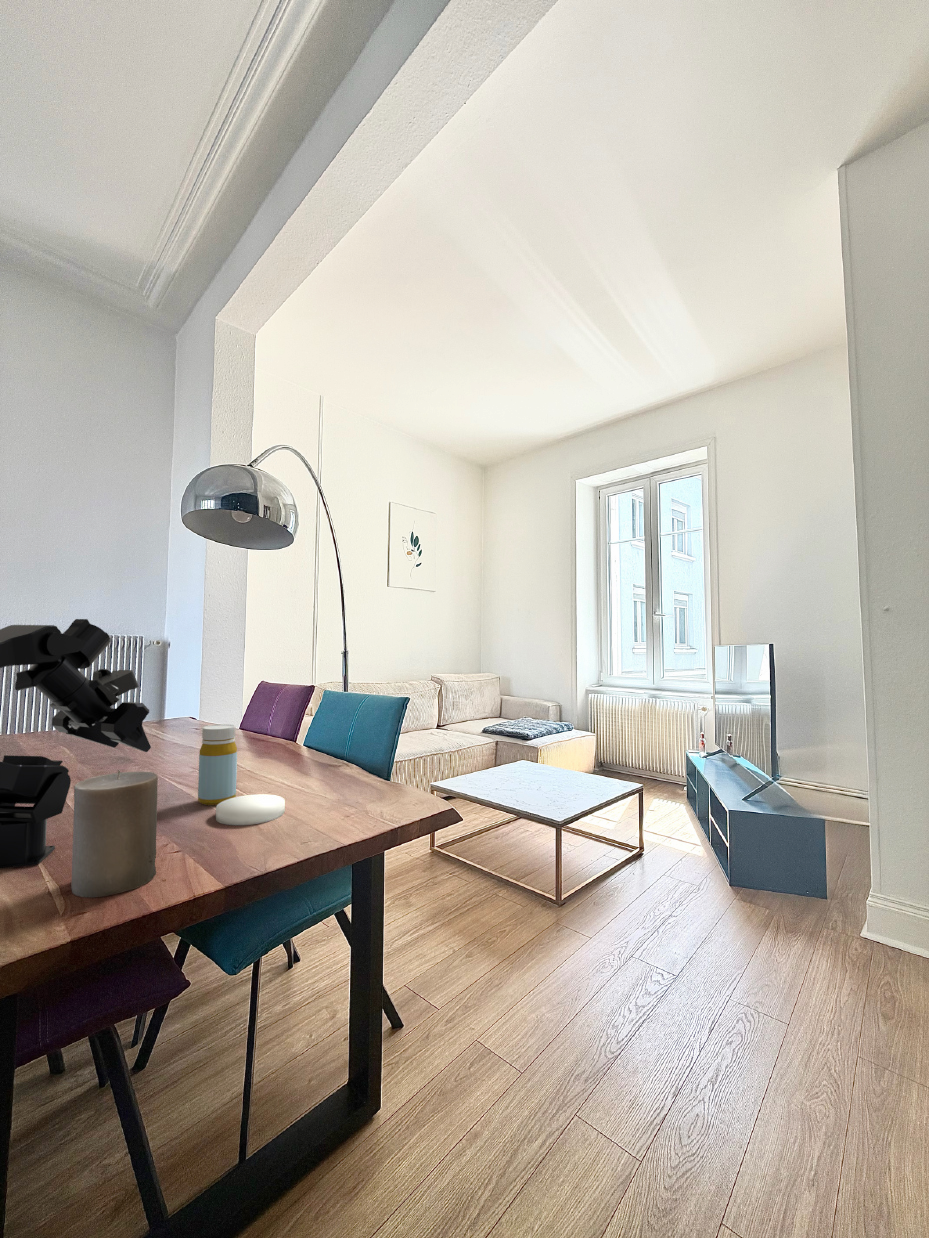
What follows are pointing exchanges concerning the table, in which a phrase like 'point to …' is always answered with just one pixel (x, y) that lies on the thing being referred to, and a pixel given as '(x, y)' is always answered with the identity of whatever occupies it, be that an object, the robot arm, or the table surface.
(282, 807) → the round base
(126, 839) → the pillar candle
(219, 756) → the bottle
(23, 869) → the table surface
